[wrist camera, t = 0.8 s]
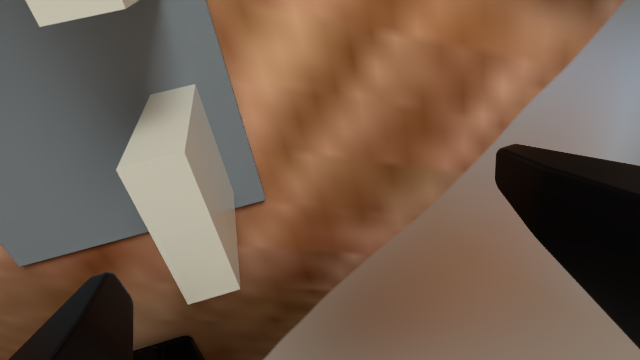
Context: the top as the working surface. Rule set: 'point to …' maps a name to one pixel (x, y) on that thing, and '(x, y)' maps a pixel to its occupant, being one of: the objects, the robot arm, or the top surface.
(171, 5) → the slate mat
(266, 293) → the top surface
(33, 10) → the tile
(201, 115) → the tile
